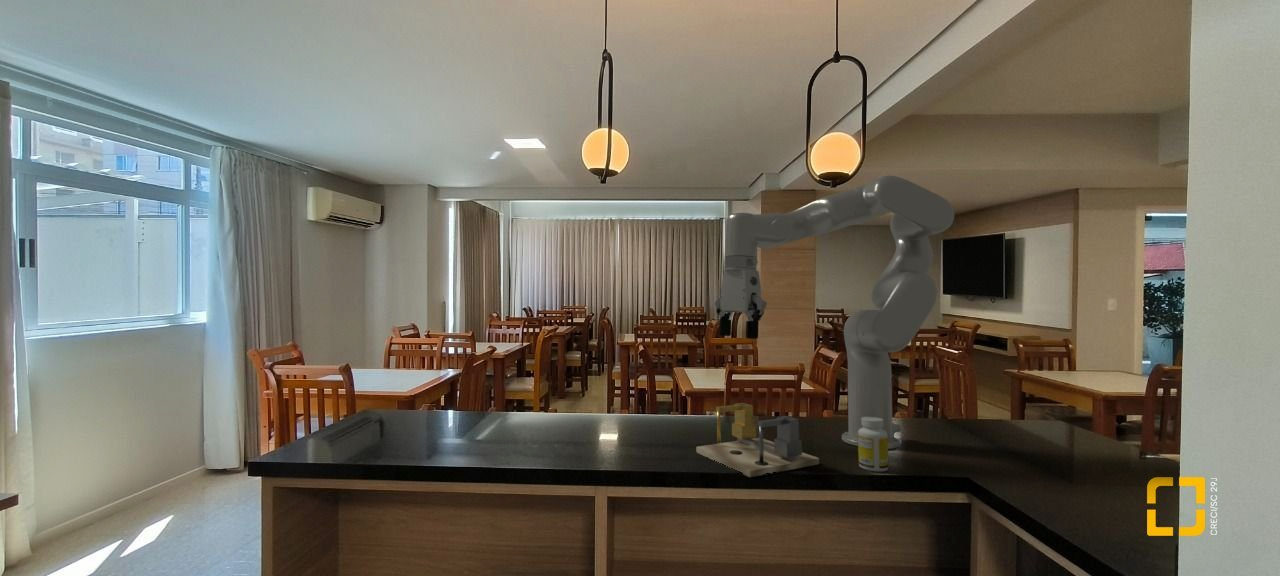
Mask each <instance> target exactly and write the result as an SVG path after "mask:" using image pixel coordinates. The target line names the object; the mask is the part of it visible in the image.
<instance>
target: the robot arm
mask: <svg viewBox="0 0 1280 576" xmlns="http://www.w3.org/2000/svg"><path fill="white" fill-rule="evenodd" d="M891 213H893V214H892V216H891V218H890V221H889V222H890V223H889V229H890V231H891V234H892V236H893V239H894V244H895V251H894V254H893V257H892V258H891V261H889V263H888V265H887V266H886V267H885V269H884V271H883V272H882V274H881V275H880V277H879V278H878V280H877V281H876V282H875V284H874V285H873V287H872V290H871V293H870V294H871V295H870V297H871V302H872V303H873V304H874V306H875V307H876V308H878V309H863V310H858V311H855V312H854V313H852V314H850V315H849V316H848V318H847V319H846V320H845V323H844V325H843V326H844V327H843V339H844V344H845V345H844V346H845V350H846V357H847V403H848V404H847V408H848V409H847V410H848V411H847V414H848V415H847V416H848V425H847V426H848V431H845V432H843V433H841V440H842V441H843V442H845V443H846V444H849V445H851V446H855V447H858V430H859V429H860V428H863V426H862V423H861V418H862V417H877V418H881V419H883V424H884V425H883V427H882V429H883V430H884V431H886V432H887V436H888V450H891V449H897V448H899V447H900V446H901V440H900V439H899V438H898V437H896V436H895V433H898V432H899V433H901V432H903V431H904V426H903V424H902V423H893V397H892V396H893V395H892V394H893V391H892V390H893V388H892V383H893V382H892V378H893V377H892V375H893V373H892V363H891V359H890V356H889V353H897V352H900V351H902V350H903V349H905V348H906V347H907V346H908V345H909V344H910V343H911V341H913V339H914V337H915V336H916V335H917V333H918V331H919V330H920V329H921V327H922V325H923V324H924V322H925V321H926V319H927V318H928V316H929V315H930V313H931V311H932V309H933V308H934V306H935V304H936V302H937V297H938V289H937V285H936V282H935V280H934V279H933V278H932V277H931V276H930V275H929V274H928V273H929V272H930V269H931V267H932V265H933V263H934V252H933V249H932V244H931V242H930V238H929V236H933V235H937V234H941V233H943V232H945V231H946V230H948V229H949V228H950V227H951V226H952V224H953V223H954V219H955V210H954V208H953V206H952V205H951V203H950V201H948V200H947V199H945V197H942V196H941V195H939V194H937V193H935V192H933V191H931V190H929V189H927V188H925V187H922V186H921V185H918V184H917V183H915V182H913V181H909V180H908V179H905V178H903V177H900V176H896V175H884V176H881V177H880V178H878V179H875V180H873V181H871V182H869V183H867V184H864V185H861V186H857V187H853V188H850V189H847V190H845V191H842V192H841V191H840V192H837V193H834V194H831V195H827V196H824V197H821V198H818V199H816V200H813V201H811V202H810V203H809V202H808V203H807V204H806V205H804V206H802V207H799V208H797V209H795V210H792V211H789V212H786V213H780V212H773V213H772V212H771V213H759V214H758V213H757V214H756V213H755V214H753V213H750V212H735V213H732V214H730V215H728V216H727V218H726V222H725V223H726V225H725V227H726V228H725V248H724V271H723V275H722V281H721V288H720V297H719V298H718V299H716V300H715V301H714V306H715V310H716V311H715V312H716V314H717V318H718V319H719V328H718V329H719V331H718V335H719V336H721V337H730V336H731V335H732V319H731V317H732V315H733V313H744V314H745V316H746V318H747V319H748V320H746V322H745V338H746V339H748V340H749V339H751V340H752V339H753V340H757V339H758V338H759V322H761V320H762V317H763V315H764V314H765V310H766V307H767V301H765V300H764V299H763V298H762V285H761V278H760V272H759V270H757V266H758V263H759V262H758V248H759V249H762V250H770V249H773V248H777V247H780V246H783V245H786V244H789V243H790V244H791V243H792V242H796V241H799V240H800V241H801V240H803V239H807V238H811V237H816V236H820V235H821V236H822V235H824V234H828V233H831V232H834V231H836V230H840V229H844V228H846V227H851V226H853V225H856V224H857V225H858V224H859V223H860V224H861V223H863V222H867V221H871V220H873V219H876V218H880V217H883V216H885V215H887V214H891Z"/></svg>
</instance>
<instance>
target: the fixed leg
mask: <svg viewBox="0 0 1280 576" xmlns="http://www.w3.org/2000/svg"><path fill="white" fill-rule="evenodd" d="M799 421H800V419H798V418H795V417H792V416H788V415H782V416H776V418H772V419H765V420H758V421H757V426H758V434H759V436H758V438H759V463H764V453H763V439H764V428H767V427H775V426H776V432H777V433H776V435H777V436H776V438H774V440H773V442H774V453H776V454H779V455H782V456H784V457H793V456H799V455H802V452H803V442H802V440H800V425H799V424H800V422H799Z"/></svg>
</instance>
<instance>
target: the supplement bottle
mask: <svg viewBox="0 0 1280 576" xmlns="http://www.w3.org/2000/svg"><path fill="white" fill-rule="evenodd" d="M861 423H862V426H863V428H860V429H859V430H858V446H857V447H858V448H857V451H858V454H857V455H858V465H859V467H860V468H862V469H863V470H866V471H868V472H878V473H879V472H881V473H882V472H886V471H888V470H889V449H888V436H887V432H886V431H884V430H883V429H882V427H883V425H884V424H883V419H881V418H877V417H862V418H861Z"/></svg>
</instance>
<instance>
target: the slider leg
mask: <svg viewBox="0 0 1280 576" xmlns="http://www.w3.org/2000/svg"><path fill="white" fill-rule="evenodd" d="M715 409H716V410H715V411H716V444H719V443H722V441H721V437H722V433H721V431H722V429H721V427H722V422H721V421H722V419H721V417H722V416H721V415H722V413H726V412H727V413H728V412H734V422H732V423H731V436H733V437H735V438H736V439H738V438H740V439H747V438H750V439H753V438H757V424H754V405H752V404H748V403H745V402H740V403H739V402H737V403H734V404H732V405H721V406H716V407H715Z"/></svg>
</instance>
